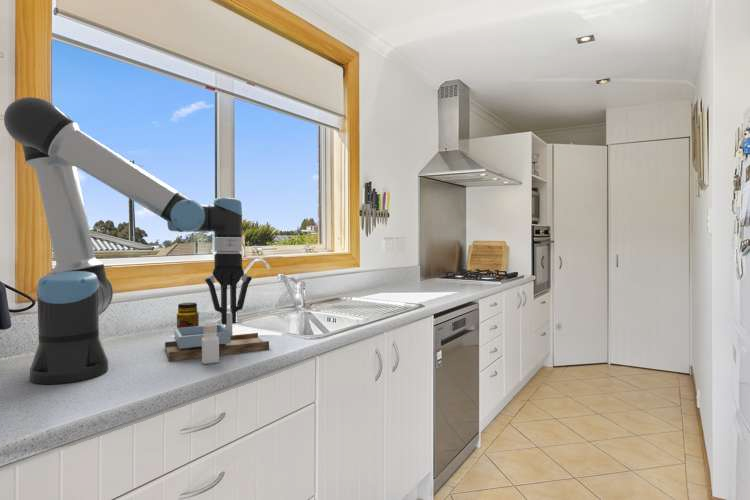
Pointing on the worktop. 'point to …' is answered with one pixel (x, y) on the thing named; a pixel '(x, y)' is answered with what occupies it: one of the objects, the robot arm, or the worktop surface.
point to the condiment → (187, 315)
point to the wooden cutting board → (236, 346)
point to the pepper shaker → (210, 344)
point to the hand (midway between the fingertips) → (228, 335)
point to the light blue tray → (199, 336)
